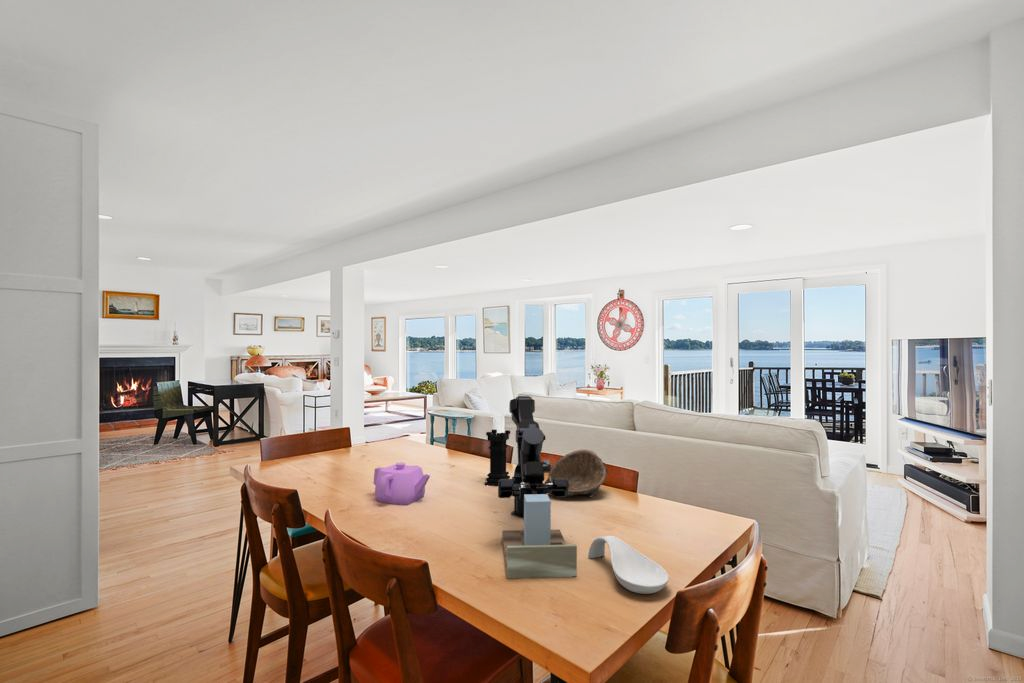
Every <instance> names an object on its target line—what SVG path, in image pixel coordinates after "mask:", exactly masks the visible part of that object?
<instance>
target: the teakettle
mask: <svg viewBox="0 0 1024 683" xmlns="http://www.w3.org/2000/svg"><path fill="white" fill-rule="evenodd" d="M430 478H431V474H427V473H424V471H423V468H422V467H420V466H419V465H407V464H406V462H397V463H395V464H393V465H389V466H386V467H376V468H374V473H373V484H374V485H375V488H374V497H375V500H376V502H380V503H383V504H389V505H398V506H409V505H411V504H413V503H415V502H417V501H419V500H421V499H422V498H424V496H425V494H426V485H427V483H428V481H429V479H430Z"/></svg>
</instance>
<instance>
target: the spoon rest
mask: <svg viewBox="0 0 1024 683" xmlns="http://www.w3.org/2000/svg"><path fill="white" fill-rule="evenodd" d="M606 544H607V546H608V549H609V557H610V563H611V568H612V570H613V574H614V576H615V578H616V579H617V581H618V583H619V584H620V585H621V586H623V587H624V588H625V589H626V590H628V591H630V592H632V593H636V594H641V595H642V594H643V595H649V594H654V593H657V592H659V591H661V590H663V589H664V588H665V586H667V585H668V583H669V581H670V576H669V574H668V572H667V571H666V569H665V568H664V567H662V566H661V565H660V564H658V563H657V562H655V561H654V560H652V559H651V558H649V557H647V556H646V555H644V554H643V553H641V552H640V551H638V550H637V549H635V548H634V547H633V546H631V545H630V544H628V543H626V542H625V541H623V540H622V539H621V538H618V537H617V536H614V535H605V536H598V537H596V538H594V539H593V541H592V542H591V544H590V546H589V549H588V555H587V556H588V559H597V558H596V557H598V558H602V557H605V554H606V552H605V551H606V549H605V548H606ZM601 556H602V557H601Z"/></svg>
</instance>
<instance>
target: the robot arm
mask: <svg viewBox="0 0 1024 683" xmlns="http://www.w3.org/2000/svg"><path fill="white" fill-rule="evenodd" d="M508 404H509V408H508V409H509V413H510V414H511V420H512V422H513V423H514V424H515V427H516V430H515V443H516V444H517V447H516V448H517V464H516V465H515V469H514V474H513V476H512V477H511V478H509V479H500V480H499V483H498V487H497V492H498V493H497V494H498V495H497V496H498V497H497V498H499V499H510V498H511V497H514V499H513V500H514V504H513V505H514V506H513V509H514V510H512V511H511V512H510V514H511V515H514V516H516V517H520V518H523V519H524V494H547V495H548V491H552V495H551V496H553V497H554V498H566V497H568V496H567V493H568V489H569V483H568V480H567V479H566V478H553V482H552V483H546V484H544V482H545V474H549V473H550V471H551V468H552V464H551V459H543V460H542V458H541V453H542V451H543V450H542V448H543V443H544V442H545V441H546V435H545V433H544V432H543V430H541V429H540V424H539V422H537V421H535V420H534V416H533V415H534V413H535V412H536V402H535V399H533V398H532V397H531V396H529V395H523V396H521V395H519V396H516V397H515V398H513V399H510V400H509V403H508Z"/></svg>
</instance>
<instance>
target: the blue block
mask: <svg viewBox="0 0 1024 683" xmlns="http://www.w3.org/2000/svg"><path fill="white" fill-rule="evenodd" d="M551 504H552V501H551V499H550V497H549V494H548V493H547V494H524V518H523V530H524V546H528V545H550V534H551V530H552V529H551V524H552V523H551V522H552V520H551V516H552V515H551V512H552V511H551V506H552V505H551Z"/></svg>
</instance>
